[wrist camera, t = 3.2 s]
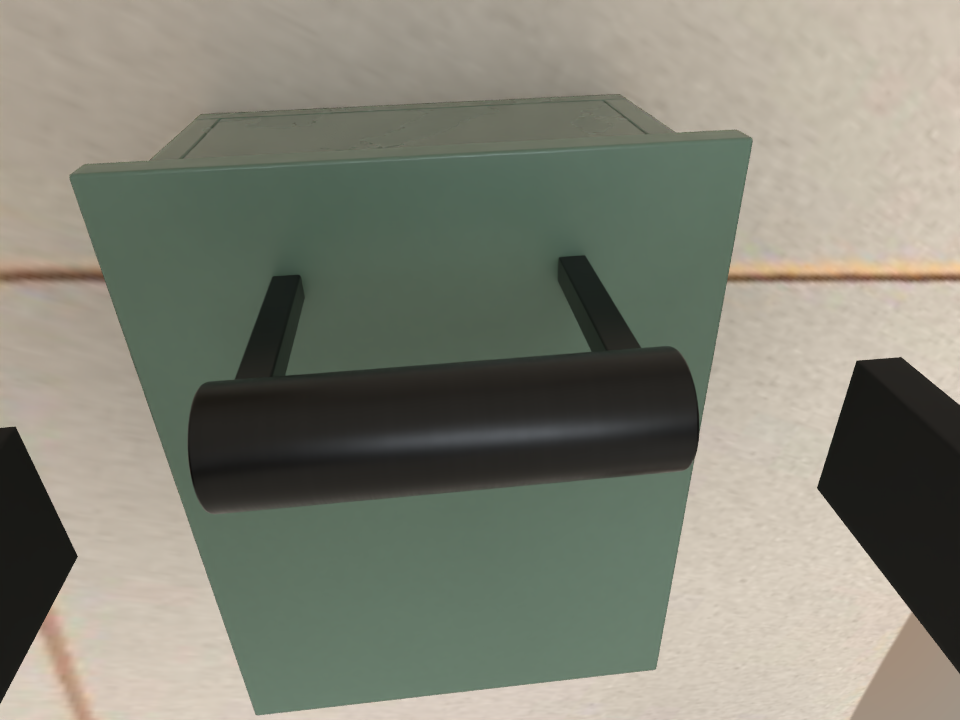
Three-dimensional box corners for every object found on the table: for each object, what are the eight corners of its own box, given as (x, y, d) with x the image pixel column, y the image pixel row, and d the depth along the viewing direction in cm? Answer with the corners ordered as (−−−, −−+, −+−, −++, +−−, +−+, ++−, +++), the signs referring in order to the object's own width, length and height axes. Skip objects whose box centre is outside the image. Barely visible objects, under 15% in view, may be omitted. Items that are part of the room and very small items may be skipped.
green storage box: (200, 114, 24) (97, 205, 16) (620, 93, 26) (730, 168, 17) (292, 510, 35) (259, 692, 26) (589, 483, 36) (648, 649, 27)
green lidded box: (82, 163, 15) (-168, 341, 9) (738, 128, 17) (980, 260, 10) (259, 694, 26) (211, 961, 19) (649, 650, 27) (734, 887, 20)
